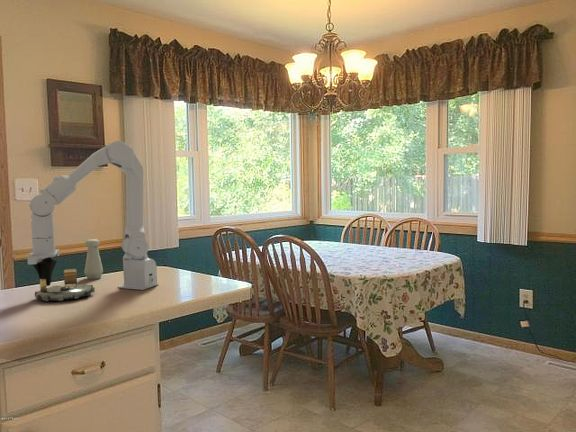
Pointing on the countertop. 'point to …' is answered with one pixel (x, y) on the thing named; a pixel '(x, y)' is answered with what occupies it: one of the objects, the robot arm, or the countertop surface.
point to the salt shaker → (93, 260)
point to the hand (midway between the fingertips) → (45, 285)
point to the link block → (70, 276)
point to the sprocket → (63, 291)
